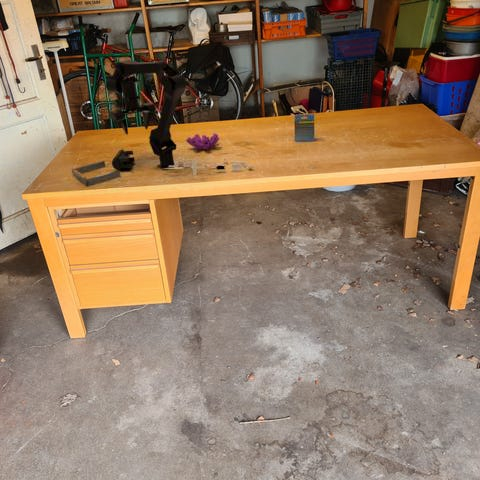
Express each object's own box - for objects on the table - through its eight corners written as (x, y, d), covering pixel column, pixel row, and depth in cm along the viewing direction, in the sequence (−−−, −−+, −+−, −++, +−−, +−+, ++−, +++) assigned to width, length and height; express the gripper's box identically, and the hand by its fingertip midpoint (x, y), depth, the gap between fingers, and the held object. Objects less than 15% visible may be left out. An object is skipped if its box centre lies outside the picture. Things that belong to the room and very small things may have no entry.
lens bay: (120, 176, 186) (119, 170, 185) (87, 186, 179) (85, 179, 178) (104, 166, 198) (103, 160, 197) (72, 175, 191) (71, 168, 190)
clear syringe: (163, 177, 181) (166, 170, 192) (252, 174, 183) (250, 168, 194) (162, 160, 179) (165, 155, 190) (252, 158, 180) (249, 153, 192)
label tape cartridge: (314, 138, 212) (314, 111, 206) (314, 141, 209) (314, 114, 203) (294, 139, 213) (294, 112, 207) (294, 142, 210) (294, 115, 204)
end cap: (119, 164, 199) (116, 149, 196) (135, 163, 199) (132, 148, 196) (113, 173, 191) (110, 157, 187) (130, 172, 190) (127, 156, 187)
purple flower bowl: (219, 156, 210) (216, 144, 201) (187, 157, 212) (182, 145, 203) (221, 135, 214) (218, 123, 205) (189, 136, 216) (185, 124, 207)
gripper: (140, 87, 197) (146, 123, 204) (99, 95, 187) (107, 133, 194) (153, 90, 189) (159, 127, 197) (112, 99, 179) (120, 138, 187)
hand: (136, 131), depth 194 cm, fingers open, 9 cm apart
